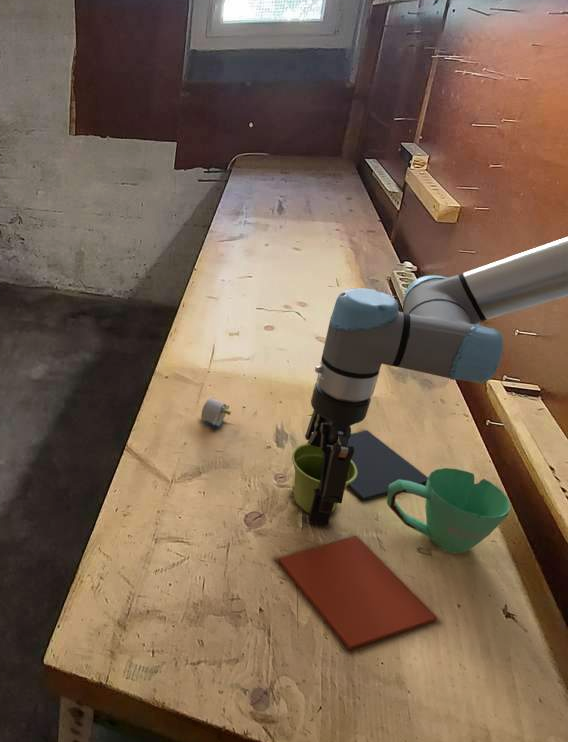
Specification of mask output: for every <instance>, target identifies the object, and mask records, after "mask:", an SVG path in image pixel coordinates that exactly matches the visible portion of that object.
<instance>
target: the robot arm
mask: <svg viewBox="0 0 568 742" xmlns="http://www.w3.org/2000/svg"><path fill="white" fill-rule="evenodd" d="M566 297H568V236H565V237H562V238H559V239H557V240H554V241H551V242H548V243H545V244H543V245H539V246H537V247H534V248H531V249H528V250H525V251H523V252H520V253H516V254H513V255H510V256H508V257H505V258H501V259H500V260H497V261H493V262H491V263H488V264H484V265H482V266H480V267H476V268H473V269H471V270H468V271H464V272H463V273H459V274H456V275H453V276H449V277H446V276H443V275H438V274H437V275H436V274H435V275H434V274H433V275H432V274H431V275H424V276H420V277H418V278H417V279H415V280H413V281H412V282H411V283H410V284H409V285H408V286H407V287H406V289H405V291H404V294H403V302H402V310H403V312H402V311H400V310H399V303H398V300H397V299H396V298H395V297H394V296H392V295H391V294H388V293H386V292H380V291H378V290H377V289H372V288H364V287H357V288H355V287H354V288H350V289H346V290H344V291H342V292H341V293H340V294H339V295H338V296H337V298H336V299H335V300H336V301H335V304H334V307H333V310H332V313H331V316H330V318H329V323H328V328H327V332H326V337H325V341H324V345H323V350H322V353H321V354H322V355H321V360H320V365H319V366H315V367H314V371H315V373H316V374H317V376H316V382H315V384H314V387H313V390H312V395H311V399H310V405H311V408H312V409H313V411H312V414H311V417H310V419H309V423H308V426H307V429H306V432H305V434H304V438H305V440H306V441H307V443H306V444H310V445H312V446H316V447H320V448H321V450H322V451H323V458H322V467H321V476H320V485H319V489H318V488H316V489H314V494H315V496H314V499H313V503H312V507H311V510H310V513H308V522H309V523H313V524H319V525H324V526H329V522H330V517H331V516H332V513H333V512H332V508H333V505H334V503H337V504H340V505H341V504H342V503H343V500H344V499H343V498H344V495H345V490H346V488H345V485H346V480H347V475H348V470H349V465H350V461H351V458H352V456H353V454H354V447H353V446H348V439H349V438H350V436H351V434H352V426H353V425H356V424H358V423H361V422H363V421H364V420H365V419H366V417H367V415H368V411H369V407H370V404H371V401H372V396H373V395H374V392H375V388H376V386H377V382H378V379H379V376H380V370H381V367H382V365H386V366H391V367H395V368H401V369H406V370H410V371H415V372H419V373H424V374H429V375H433V376H437V377H441V378H446V379H450V380H453V381H455V380H458V381H465V382H472V383H478V384H482V383H486V382H488V381H490V380H491V379H492V378H493V377H494V376H495V375H496V373H497V372H498V368H499V366H500V363H501V360H502V355H503V350H504V349H503V348H504V341H503V335H502V334H501V332H500V331H499V330H498V329H496V328H493V327H489V326H484V325H481V324H480V323H481V322H485V321H488V320H490V319H494V318H498V317H501V316H505V315H508V314H512V313H515V312H518V311H521V310H525V309H529V308H532V307H535V306H539V305H543V304H547V303H549V302H552V301H556V300H560V299H563V298H566ZM327 445H333V446H332V447H330V446H327ZM331 512H332V513H331Z"/></svg>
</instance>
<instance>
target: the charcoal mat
mask: <svg viewBox="0 0 568 742" xmlns="http://www.w3.org/2000/svg"><path fill="white" fill-rule="evenodd" d="M327 446H330V447H332V446H333V445H327ZM348 446H353V447H354V454H353V456H352V458H351V460H352V461H353V462H354V464H355V466H356V468H357V477H356V479H355V480H354V481H353V482H352V483H350V484H349V485H348V486H347V487H348V488H349V490H351V491H352V492H353V493H354V494H355V495H356V496H357V497H359V498H360V499H361V500H362V501H366V500H369V499H373V498H377V497H381V496H385V495H388V486H389V485H390V484H391V483H393V482H395V481H397V480H399V479H400V480H406V481H411V482H414V483H418V484H421V485H426V483H427V479H428V477H429V476H426V475H425V474H424V473H423V472H421V471H420V470H419V469H417V468H416V467H415V466H414V465H412V464H411V463H410V462H408V461H407V460H406V459H404V458H403V457H402V456H401V455H400V454H398V453H397V452H395V451H394V450H393V449H392V448H390V447H389V446H388V445H386V444H385V443H384V442H383V441H382V440H380V438H378V437H376V436H375V435H374V434H372V433H371V432H370V431H369V430H363V431H362V430H361V431H359V432H354V433H351V436H350V438H349V439H348Z"/></svg>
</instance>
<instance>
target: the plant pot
mask: <svg viewBox="0 0 568 742" xmlns="http://www.w3.org/2000/svg"><path fill="white" fill-rule="evenodd" d="M322 458H323V451H322V450H321V448H320V447H316V446H312V445H310V444H307V443H305V444H302V445H299V446H297V447H295V449H293V451H292V455H291V461H292V464H293V468H294V487H293V488H294V489H293V490H294V491H293V498H294V502H295V504H296V505H298V506H299V507H300V508H301V509H302V510H303V511H305V513H308V514H310V510H311V507H312V503H313V499H314V496H315V494H314V489H316V488H318V489H319V485H320V476H321V467H322ZM356 477H357V468H356V466H355V464H354V462H353V461H352V460H351V461H350V465H349V470H348V475H347V480H346V485H345V489H346V488H347V487H348V485H349V484H350V483H352V482H353V481H354V480H355V479H356ZM337 505H338V503H334V505H333V508H332V512H331V514H332V513H333V512H334V510H335V508H336V507H337Z"/></svg>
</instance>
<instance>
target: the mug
mask: <svg viewBox="0 0 568 742" xmlns="http://www.w3.org/2000/svg"><path fill="white" fill-rule="evenodd" d="M427 477H428V479H427V483H426V484H422V485H421V484H418V483H414V482H411V481H406V480H400V479H399V480H397V481H395V482H393V483H391V484H390V485H389V486H388V494H387V498H386V504H387V506H388V507H389V508H390V509H391V511H392V512H393V513H394V514H395V515H396V516H397V518H399V519H400V521H401V522H402V523H403V524H404V525H405V526H406V527H408V528H411V529H413V530H415V531H417V532H419V533H421V534H423V535H424V536H427V537H428V538H430V540H431V541H432V542H433V543H434V544H435V545H436V546H437V547H439V548H440V549H442V550H444V551H446V552H449V553H452V554H453V553H454V554H463V553H466V552H467V551H469V550H470V549H472V548H473V547H475V546H476V545H478V544H480V543H481V542H482V541H483V540H484V539H486V538H487V537H489V535H491V534H492V532H494V531H495V529H496V528H497V527H498V526H499V525H501V523H502V522H504V520H505V519H507V517H508V516H509V513H510V511H511V503H510V499H509V497H508V496H507V495H506V494H505V493H504V492H503V490H501V489H500V488H499V487H498V486H496V485H495V484H494V483H493V482H491V481H489V480H487V479H486V478H483V479H481V480H480V481H479V482H477V483H475V474H474V473H473V472H471V471H466V470H462V469H459V468H447V467H444V468H437V469H435V470H433V471H431V472H430V473H429V475H428V476H427ZM402 493H404V494H409V495H411V494H412V495H413V496H414V495H415V496H417V497H420V498H423V499H425V506H424V507H425V508H424V509H425V520H426V522H423V521H421V520H419V519H417V518H415V517H413V516H411V515H409V514H407V513H405V511H404V510H403V509H402V508H401V506H400V505H399V504H398V503H397V502H396V499H397V495H399V494H402Z"/></svg>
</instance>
